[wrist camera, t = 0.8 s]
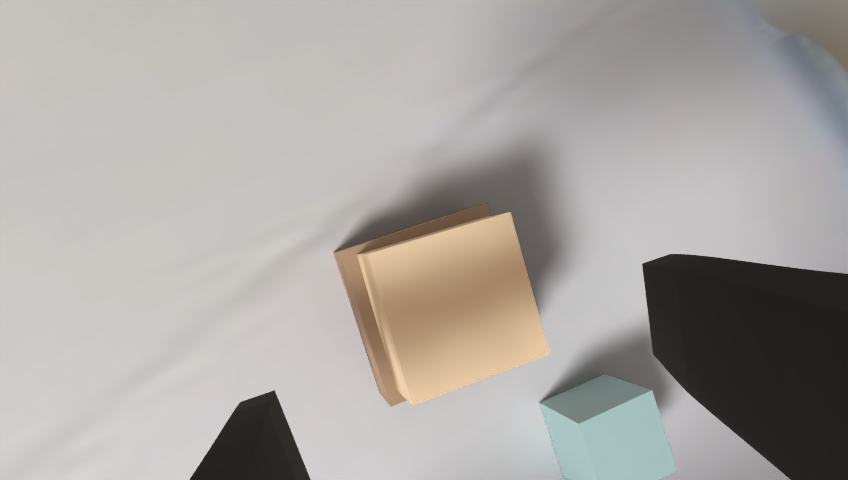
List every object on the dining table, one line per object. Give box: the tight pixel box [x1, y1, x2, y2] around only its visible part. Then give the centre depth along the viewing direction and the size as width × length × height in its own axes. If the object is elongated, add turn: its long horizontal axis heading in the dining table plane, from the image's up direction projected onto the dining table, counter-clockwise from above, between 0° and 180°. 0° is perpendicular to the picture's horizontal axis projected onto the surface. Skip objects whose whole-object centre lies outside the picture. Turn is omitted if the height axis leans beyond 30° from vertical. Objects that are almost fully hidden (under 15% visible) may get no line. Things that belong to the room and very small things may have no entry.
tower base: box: [333, 203, 491, 406], centre depth 27 cm, size 7×7×3 cm
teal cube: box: [539, 374, 677, 480], centre depth 28 cm, size 4×4×4 cm
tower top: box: [357, 212, 550, 406], centre depth 24 cm, size 6×6×3 cm
